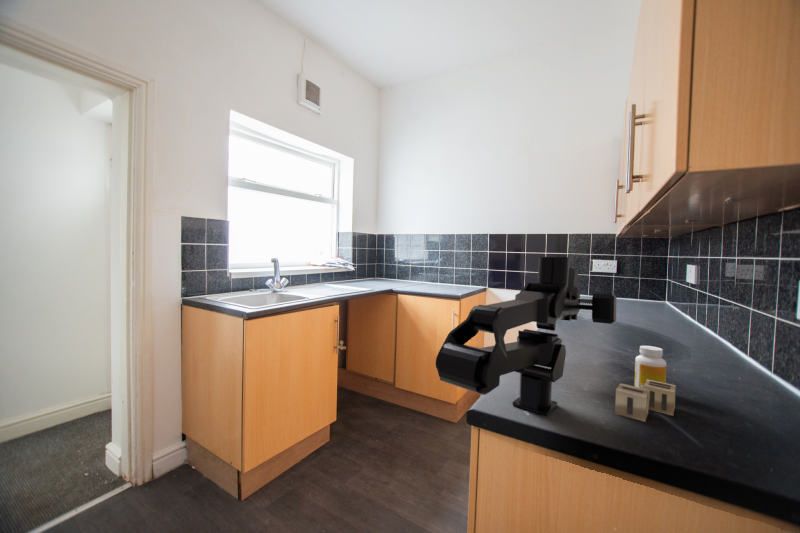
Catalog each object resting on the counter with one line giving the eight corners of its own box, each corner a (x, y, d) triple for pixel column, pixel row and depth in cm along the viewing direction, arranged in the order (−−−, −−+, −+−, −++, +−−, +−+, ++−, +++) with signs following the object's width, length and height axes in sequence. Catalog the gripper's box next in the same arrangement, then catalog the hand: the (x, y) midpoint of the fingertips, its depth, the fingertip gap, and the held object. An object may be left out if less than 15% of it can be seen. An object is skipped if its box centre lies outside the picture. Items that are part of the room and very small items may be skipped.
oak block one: (644, 422, 59) (645, 396, 58) (614, 414, 62) (615, 389, 61) (648, 413, 62) (649, 389, 62) (619, 406, 65) (620, 382, 65)
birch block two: (673, 416, 61) (674, 391, 61) (642, 408, 64) (643, 385, 64) (674, 408, 64) (675, 384, 64) (646, 401, 67) (646, 378, 67)
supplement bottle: (672, 398, 69) (674, 351, 69) (645, 397, 69) (647, 351, 69) (652, 387, 74) (654, 344, 74) (628, 387, 74) (630, 344, 74)
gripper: (606, 268, 65) (624, 273, 76) (515, 268, 78) (541, 272, 89) (606, 325, 64) (623, 322, 75) (513, 316, 77) (540, 314, 88)
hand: (578, 305), depth 82 cm, fingers open, 9 cm apart
